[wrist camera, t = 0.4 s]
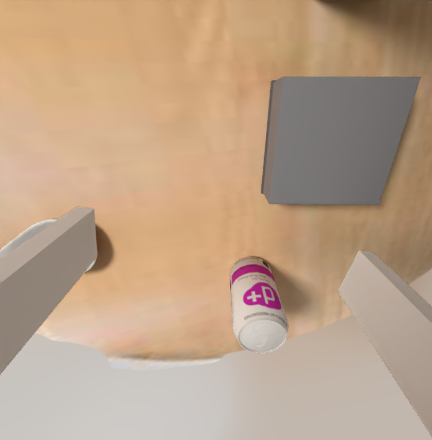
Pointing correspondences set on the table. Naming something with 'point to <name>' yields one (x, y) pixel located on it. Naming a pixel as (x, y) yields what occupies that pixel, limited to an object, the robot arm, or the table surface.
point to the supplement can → (256, 306)
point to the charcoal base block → (333, 138)
